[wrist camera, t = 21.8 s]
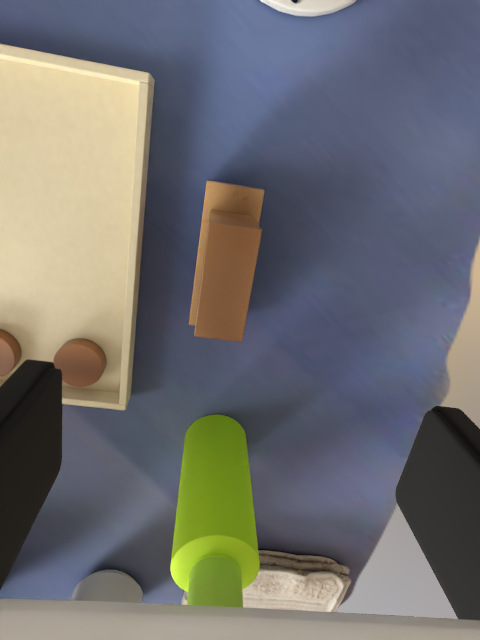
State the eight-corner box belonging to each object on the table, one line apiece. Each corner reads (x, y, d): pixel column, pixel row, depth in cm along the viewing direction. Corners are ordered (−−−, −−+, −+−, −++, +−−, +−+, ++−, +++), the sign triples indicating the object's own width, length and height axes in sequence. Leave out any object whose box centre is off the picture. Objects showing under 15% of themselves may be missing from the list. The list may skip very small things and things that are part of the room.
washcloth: (321, 623, 50) (327, 652, 47) (176, 611, 48) (173, 641, 45) (350, 555, 46) (359, 582, 43) (193, 539, 43) (191, 566, 40)
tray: (-87, 32, 26) (-114, 21, 24) (154, 79, 27) (149, 72, 25) (-49, 376, 35) (-66, 390, 33) (130, 395, 36) (125, 410, 34)
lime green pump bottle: (191, 476, 40) (170, 748, 22) (180, 418, 38) (145, 671, 19) (250, 468, 40) (279, 733, 22) (242, 410, 38) (268, 655, 19)
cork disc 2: (57, 335, 33) (52, 341, 32) (107, 340, 34) (103, 346, 33) (58, 377, 35) (53, 385, 34) (106, 382, 35) (102, 389, 34)
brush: (190, 311, 34) (182, 361, 25) (207, 178, 30) (204, 186, 22) (238, 317, 34) (245, 368, 26) (260, 187, 30) (277, 198, 22)
